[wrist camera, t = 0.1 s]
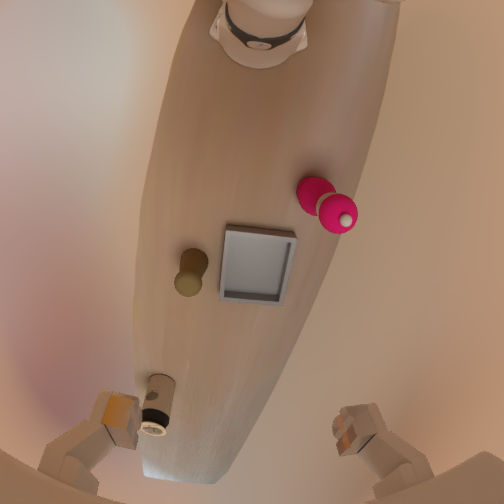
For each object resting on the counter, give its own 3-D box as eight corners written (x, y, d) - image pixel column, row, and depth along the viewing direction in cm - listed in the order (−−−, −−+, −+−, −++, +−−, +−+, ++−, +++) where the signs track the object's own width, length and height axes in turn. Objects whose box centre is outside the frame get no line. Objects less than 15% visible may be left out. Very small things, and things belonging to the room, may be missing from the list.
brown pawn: (207, 275, 61) (202, 303, 51) (179, 271, 60) (170, 299, 50) (209, 250, 58) (204, 275, 48) (181, 246, 58) (171, 270, 48)
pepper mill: (330, 176, 53) (375, 199, 35) (325, 210, 56) (366, 248, 38) (295, 172, 53) (327, 193, 35) (292, 207, 56) (319, 245, 37)
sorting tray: (226, 224, 56) (226, 230, 53) (294, 232, 58) (297, 238, 55) (219, 292, 63) (218, 300, 59) (280, 297, 64) (282, 306, 61)
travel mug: (177, 390, 77) (170, 437, 60) (153, 388, 76) (143, 434, 60) (172, 374, 73) (163, 424, 57) (147, 372, 73) (134, 420, 57)
